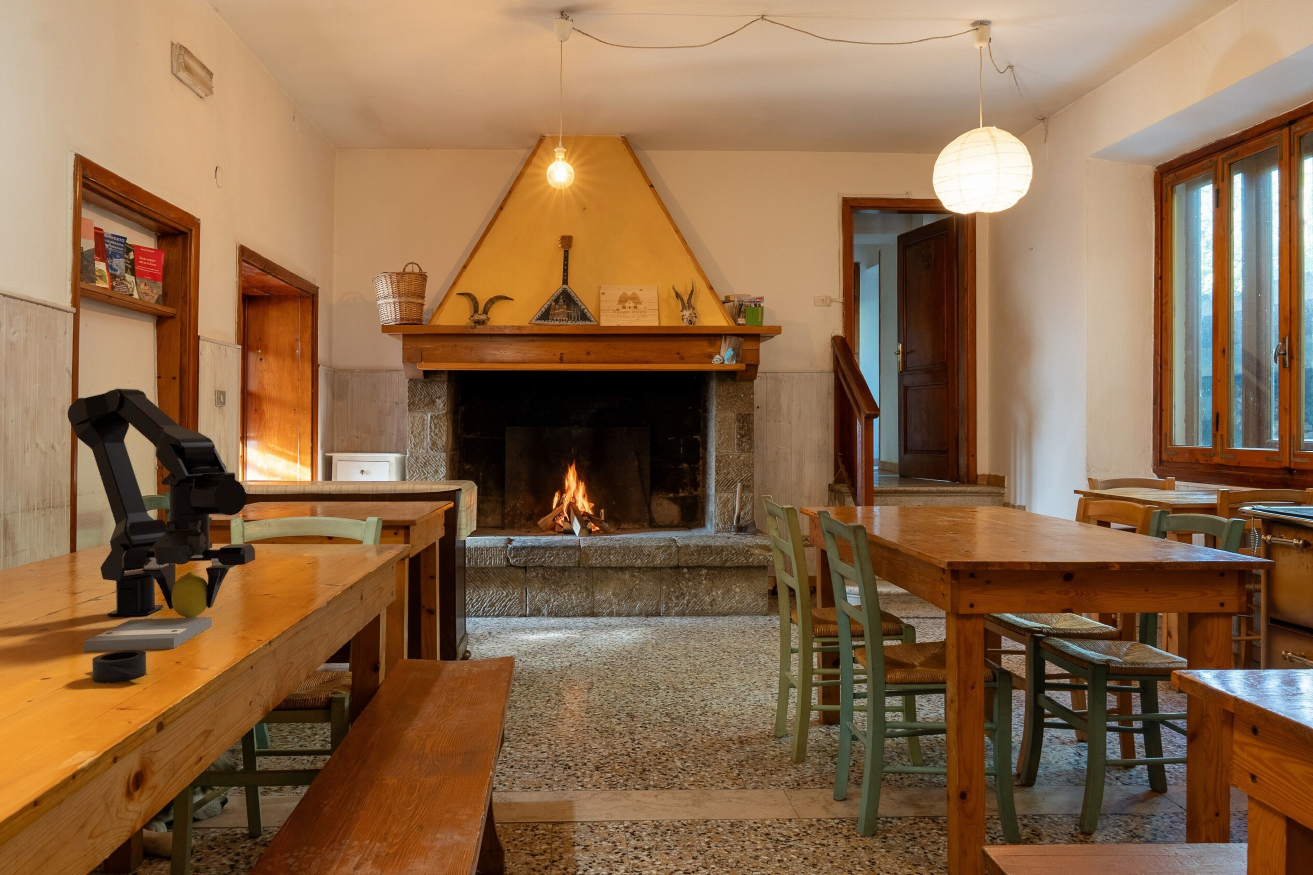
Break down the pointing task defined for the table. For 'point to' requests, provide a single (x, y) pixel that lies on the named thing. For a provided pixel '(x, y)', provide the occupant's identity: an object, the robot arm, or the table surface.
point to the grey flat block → (148, 634)
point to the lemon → (190, 595)
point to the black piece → (119, 666)
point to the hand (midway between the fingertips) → (190, 608)
